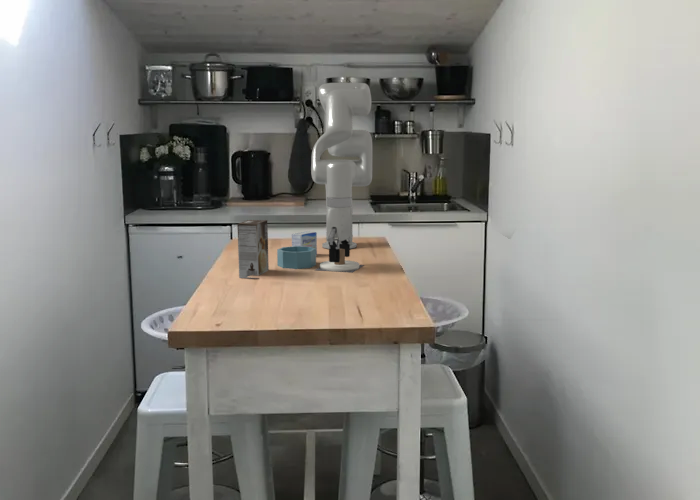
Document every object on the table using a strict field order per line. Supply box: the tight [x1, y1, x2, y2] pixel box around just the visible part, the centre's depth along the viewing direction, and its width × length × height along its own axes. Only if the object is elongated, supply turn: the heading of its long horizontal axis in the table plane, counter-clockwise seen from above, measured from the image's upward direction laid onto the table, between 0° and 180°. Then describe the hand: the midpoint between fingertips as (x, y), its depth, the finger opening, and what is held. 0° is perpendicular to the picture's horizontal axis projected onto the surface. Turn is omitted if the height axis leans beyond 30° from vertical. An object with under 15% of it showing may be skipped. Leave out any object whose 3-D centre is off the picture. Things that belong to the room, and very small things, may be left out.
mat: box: [315, 264, 365, 274], centre depth 220 cm, size 12×12×1 cm
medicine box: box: [291, 230, 318, 256], centre depth 241 cm, size 8×4×9 cm, turn 143°
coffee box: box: [236, 219, 270, 280], centre depth 212 cm, size 9×6×16 cm
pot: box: [276, 245, 317, 270], centre depth 224 cm, size 11×11×6 cm
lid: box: [319, 249, 360, 273], centre depth 219 cm, size 12×12×6 cm
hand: (339, 259), depth 219 cm, fingers open, 9 cm apart
